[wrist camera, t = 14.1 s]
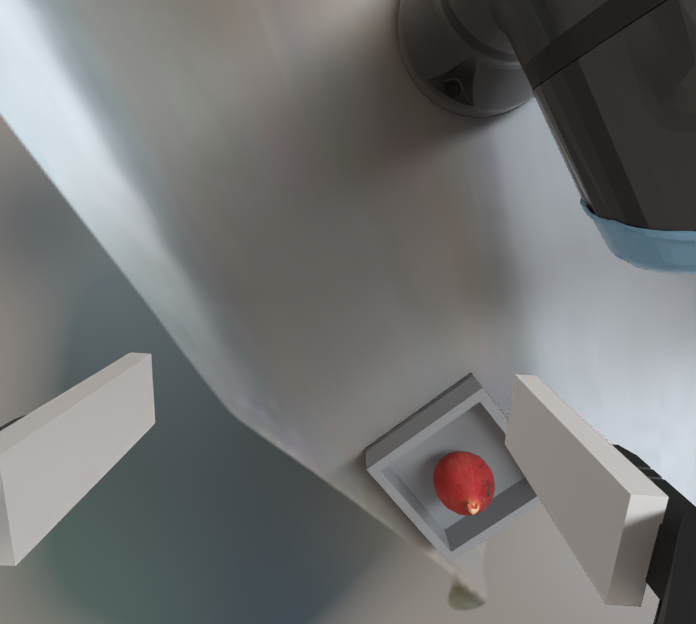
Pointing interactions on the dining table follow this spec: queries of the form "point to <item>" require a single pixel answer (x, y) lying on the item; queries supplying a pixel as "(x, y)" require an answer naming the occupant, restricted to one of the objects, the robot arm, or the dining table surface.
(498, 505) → the box
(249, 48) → the dining table surface
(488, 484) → the onion
